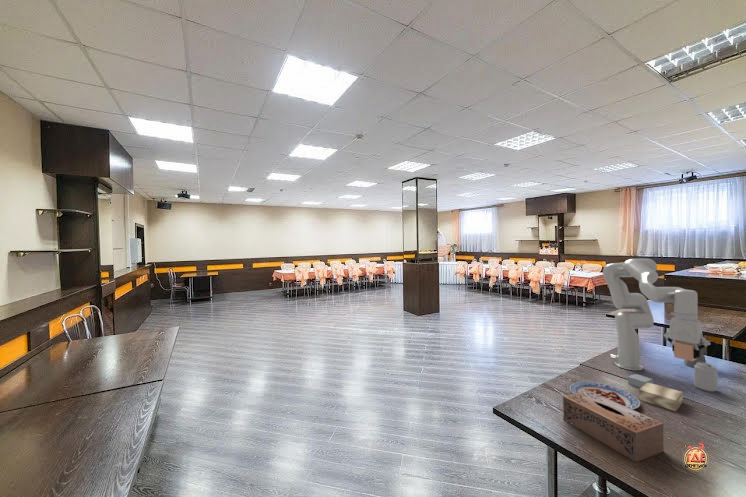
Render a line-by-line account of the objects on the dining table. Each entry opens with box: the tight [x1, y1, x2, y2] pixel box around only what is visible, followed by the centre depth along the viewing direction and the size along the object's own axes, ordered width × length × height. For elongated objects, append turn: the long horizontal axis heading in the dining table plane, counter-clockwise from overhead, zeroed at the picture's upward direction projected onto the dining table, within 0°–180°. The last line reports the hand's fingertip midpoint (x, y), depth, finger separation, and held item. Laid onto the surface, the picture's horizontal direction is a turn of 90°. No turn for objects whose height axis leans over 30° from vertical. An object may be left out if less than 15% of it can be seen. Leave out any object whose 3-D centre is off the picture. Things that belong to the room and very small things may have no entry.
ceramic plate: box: [569, 381, 641, 410], centre depth 139 cm, size 26×26×3 cm
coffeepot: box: [683, 340, 719, 369], centre depth 171 cm, size 15×9×18 cm, turn 37°
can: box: [693, 362, 719, 393], centre depth 146 cm, size 8×8×12 cm
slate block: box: [627, 373, 654, 389], centre depth 151 cm, size 7×7×4 cm
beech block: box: [638, 382, 684, 412], centre depth 136 cm, size 12×12×5 cm
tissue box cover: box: [562, 390, 665, 462], centre depth 113 cm, size 26×14×10 cm, turn 19°
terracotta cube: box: [673, 341, 698, 361], centre depth 138 cm, size 6×6×7 cm
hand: (685, 355), depth 138 cm, fingers closed on terracotta cube, 6 cm apart
